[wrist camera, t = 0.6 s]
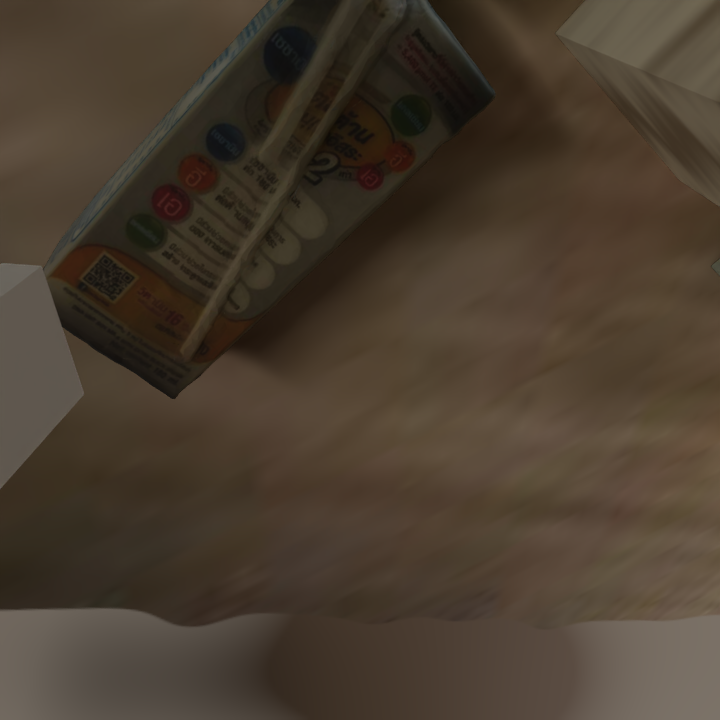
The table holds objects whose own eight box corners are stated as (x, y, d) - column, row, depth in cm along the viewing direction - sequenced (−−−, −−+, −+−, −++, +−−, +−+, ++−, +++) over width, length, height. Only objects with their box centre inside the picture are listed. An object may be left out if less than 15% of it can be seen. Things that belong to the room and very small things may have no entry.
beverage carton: (470, 68, 28) (516, 105, 23) (188, 339, 35) (171, 418, 29) (344, -96, 25) (362, -98, 19) (53, 242, 31) (5, 312, 25)
